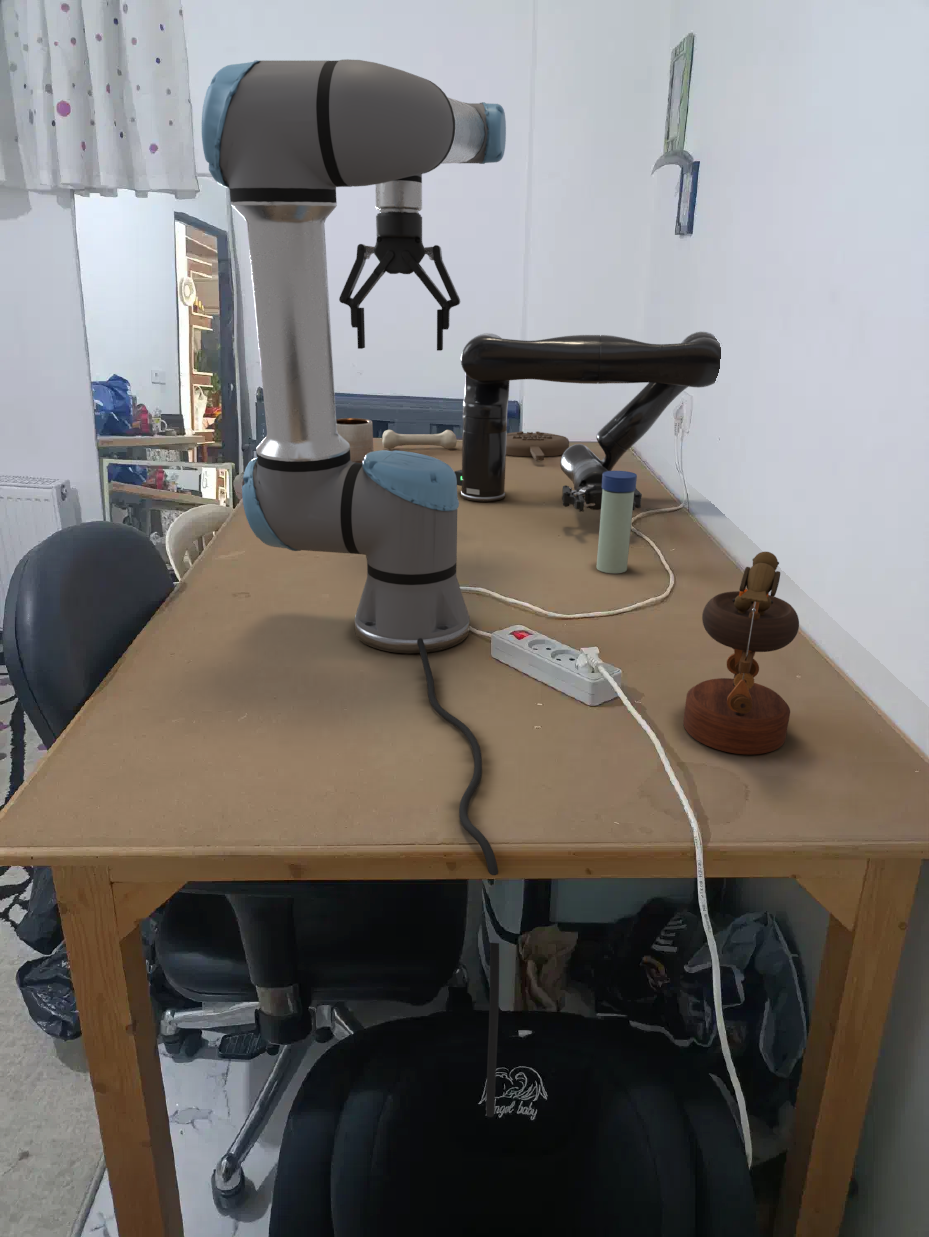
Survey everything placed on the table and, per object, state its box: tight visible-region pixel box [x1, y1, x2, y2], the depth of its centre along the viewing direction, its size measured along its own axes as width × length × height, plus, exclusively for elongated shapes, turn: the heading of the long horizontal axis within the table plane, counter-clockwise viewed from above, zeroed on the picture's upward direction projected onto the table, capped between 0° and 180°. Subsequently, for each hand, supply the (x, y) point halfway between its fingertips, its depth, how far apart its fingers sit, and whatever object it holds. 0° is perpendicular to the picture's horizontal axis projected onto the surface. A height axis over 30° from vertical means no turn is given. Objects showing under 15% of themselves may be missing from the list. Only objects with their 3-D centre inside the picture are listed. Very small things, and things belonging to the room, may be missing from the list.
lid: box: [602, 470, 638, 492], centre depth 133 cm, size 5×5×2 cm
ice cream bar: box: [506, 430, 570, 461], centre depth 223 cm, size 21×28×4 cm
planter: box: [336, 417, 375, 463], centre depth 212 cm, size 11×11×10 cm
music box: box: [682, 551, 800, 755], centre depth 87 cm, size 15×11×20 cm
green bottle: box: [595, 489, 634, 574], centre depth 136 cm, size 5×5×15 cm
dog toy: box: [381, 429, 458, 450], centre depth 228 cm, size 20×6×5 cm, turn 99°
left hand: (400, 349), depth 145 cm, fingers open, 13 cm apart
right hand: (606, 506), depth 149 cm, fingers open, 8 cm apart
